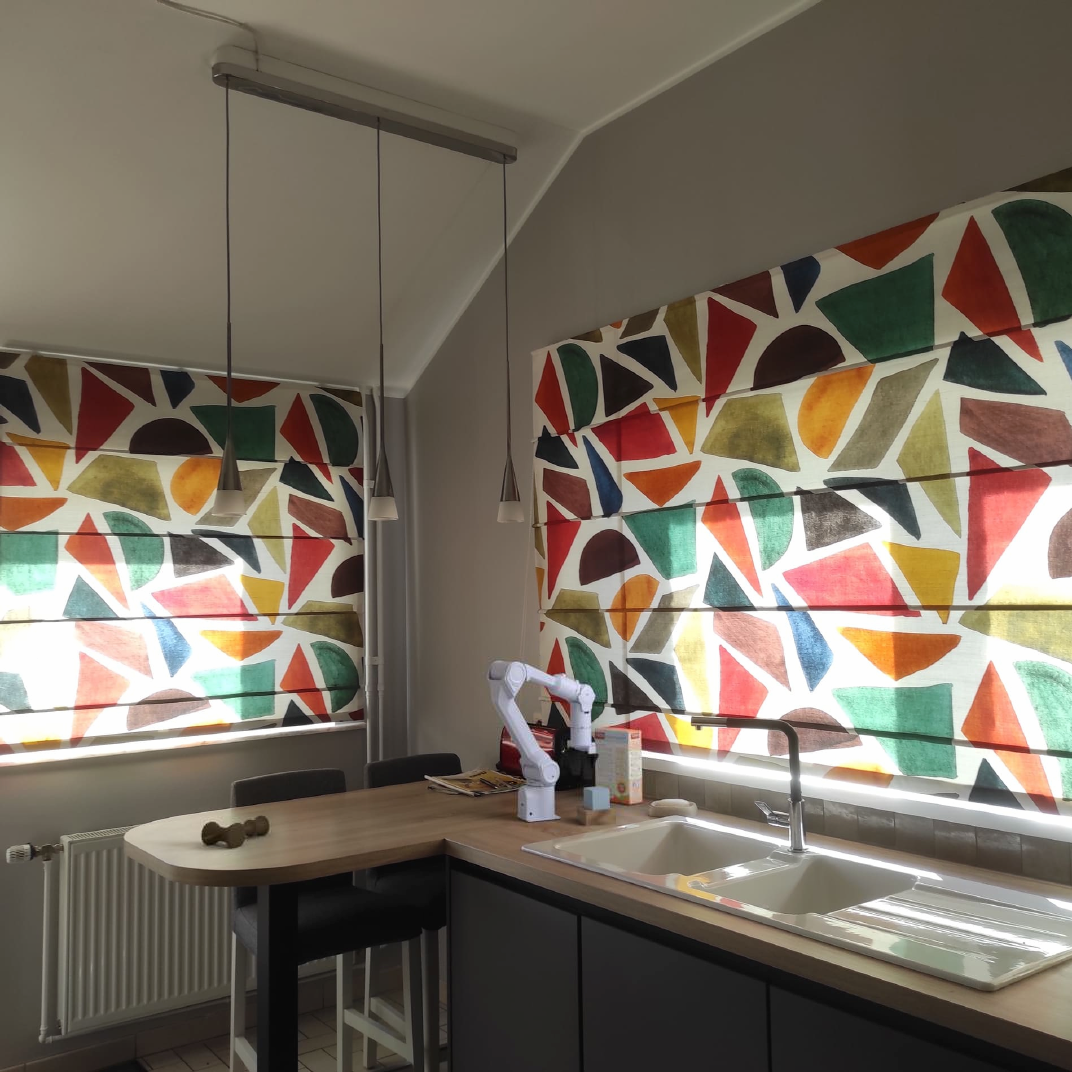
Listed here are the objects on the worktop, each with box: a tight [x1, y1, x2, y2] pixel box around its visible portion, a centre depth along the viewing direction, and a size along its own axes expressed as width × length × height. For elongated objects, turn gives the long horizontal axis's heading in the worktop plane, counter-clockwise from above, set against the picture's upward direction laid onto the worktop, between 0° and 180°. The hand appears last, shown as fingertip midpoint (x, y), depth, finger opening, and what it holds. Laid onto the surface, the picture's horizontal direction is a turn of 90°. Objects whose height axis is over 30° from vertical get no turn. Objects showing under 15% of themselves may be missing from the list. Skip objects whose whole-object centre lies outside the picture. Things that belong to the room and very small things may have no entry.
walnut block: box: [576, 805, 617, 827], centre depth 259 cm, size 8×8×4 cm
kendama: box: [200, 815, 270, 849], centre depth 240 cm, size 6×10×20 cm
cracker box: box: [594, 726, 644, 806], centre depth 288 cm, size 14×6×21 cm, turn 41°
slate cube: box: [583, 786, 611, 810], centre depth 259 cm, size 5×5×5 cm
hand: (581, 777), depth 273 cm, fingers open, 7 cm apart
